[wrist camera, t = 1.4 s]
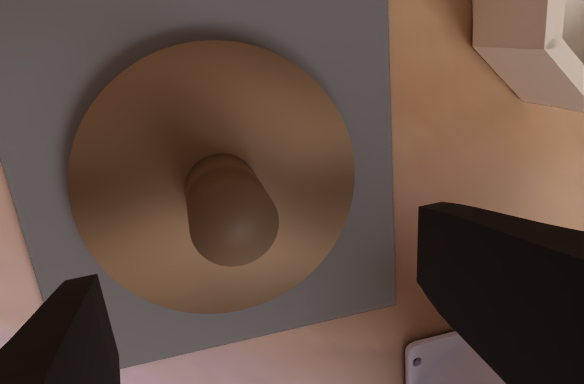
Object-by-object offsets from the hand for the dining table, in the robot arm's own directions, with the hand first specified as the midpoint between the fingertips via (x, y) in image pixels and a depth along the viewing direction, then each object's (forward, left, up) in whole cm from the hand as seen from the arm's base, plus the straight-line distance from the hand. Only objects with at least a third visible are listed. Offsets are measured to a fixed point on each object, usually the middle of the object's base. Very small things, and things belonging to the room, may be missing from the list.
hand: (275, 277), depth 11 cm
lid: (-1, 0, -9) cm, 9 cm away
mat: (-1, 0, -10) cm, 10 cm away
